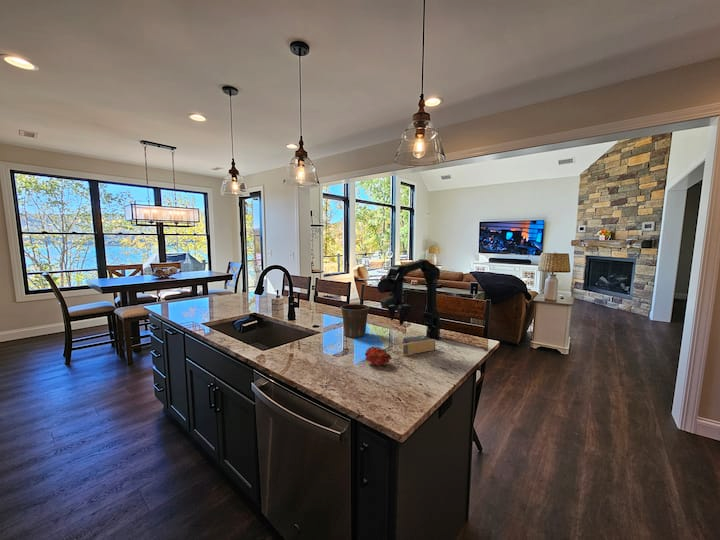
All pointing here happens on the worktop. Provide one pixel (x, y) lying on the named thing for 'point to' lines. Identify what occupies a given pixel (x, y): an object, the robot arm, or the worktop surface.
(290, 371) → the worktop surface
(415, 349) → the side door
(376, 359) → the dragon fruit
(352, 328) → the plant pot
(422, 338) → the action camera body
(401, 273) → the robot arm
